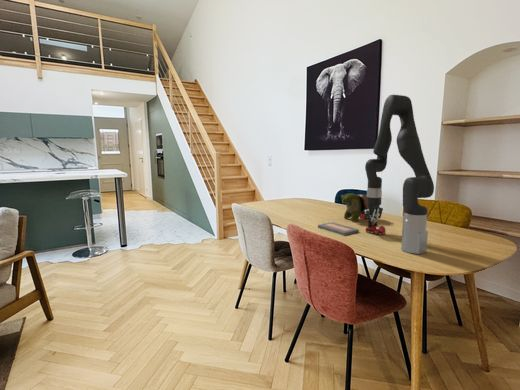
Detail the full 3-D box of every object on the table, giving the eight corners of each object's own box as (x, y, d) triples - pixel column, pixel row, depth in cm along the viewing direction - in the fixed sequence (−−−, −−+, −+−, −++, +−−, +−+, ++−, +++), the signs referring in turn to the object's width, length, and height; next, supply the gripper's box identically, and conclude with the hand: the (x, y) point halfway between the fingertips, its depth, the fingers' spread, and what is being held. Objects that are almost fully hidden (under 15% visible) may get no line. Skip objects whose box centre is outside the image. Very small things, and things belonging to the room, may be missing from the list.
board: (358, 232, 158) (358, 229, 157) (343, 235, 151) (343, 232, 151) (332, 224, 174) (332, 222, 174) (317, 227, 168) (317, 224, 168)
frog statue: (374, 228, 183) (343, 220, 174) (359, 221, 197) (330, 214, 189) (384, 200, 181) (353, 191, 172) (368, 196, 195) (338, 187, 187)
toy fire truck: (383, 235, 150) (384, 218, 149) (358, 231, 159) (359, 214, 158) (386, 234, 152) (387, 217, 151) (361, 229, 162) (362, 213, 160)
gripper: (371, 198, 146) (370, 230, 149) (388, 195, 153) (386, 226, 156) (359, 196, 152) (358, 227, 155) (376, 194, 160) (374, 223, 162)
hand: (372, 226), depth 155 cm, fingers closed on toy fire truck, 3 cm apart
